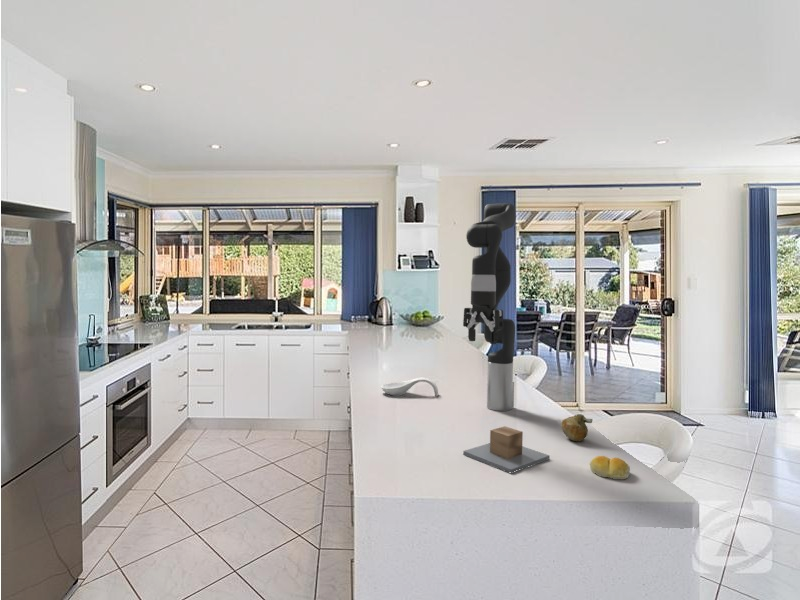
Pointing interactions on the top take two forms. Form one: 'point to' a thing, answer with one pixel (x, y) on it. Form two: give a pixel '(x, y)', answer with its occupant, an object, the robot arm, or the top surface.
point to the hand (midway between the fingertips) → (482, 342)
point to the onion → (575, 427)
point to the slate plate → (510, 464)
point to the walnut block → (506, 442)
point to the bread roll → (610, 467)
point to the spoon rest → (406, 386)
